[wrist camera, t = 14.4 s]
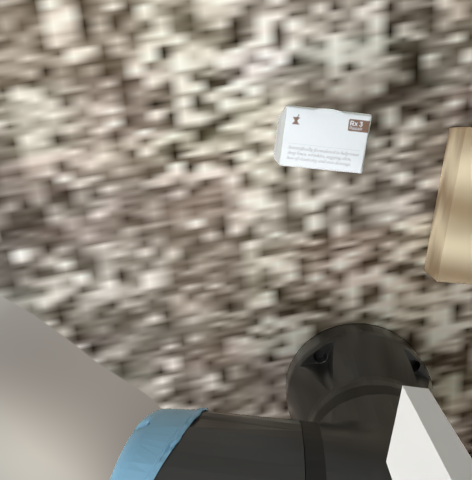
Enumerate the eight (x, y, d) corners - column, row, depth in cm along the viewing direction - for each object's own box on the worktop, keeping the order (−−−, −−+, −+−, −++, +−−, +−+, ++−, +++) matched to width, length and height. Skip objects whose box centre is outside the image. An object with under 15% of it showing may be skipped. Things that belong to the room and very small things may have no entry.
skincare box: (272, 160, 41) (273, 170, 30) (278, 112, 40) (282, 103, 28) (335, 167, 41) (362, 180, 29) (343, 119, 40) (373, 113, 28)
